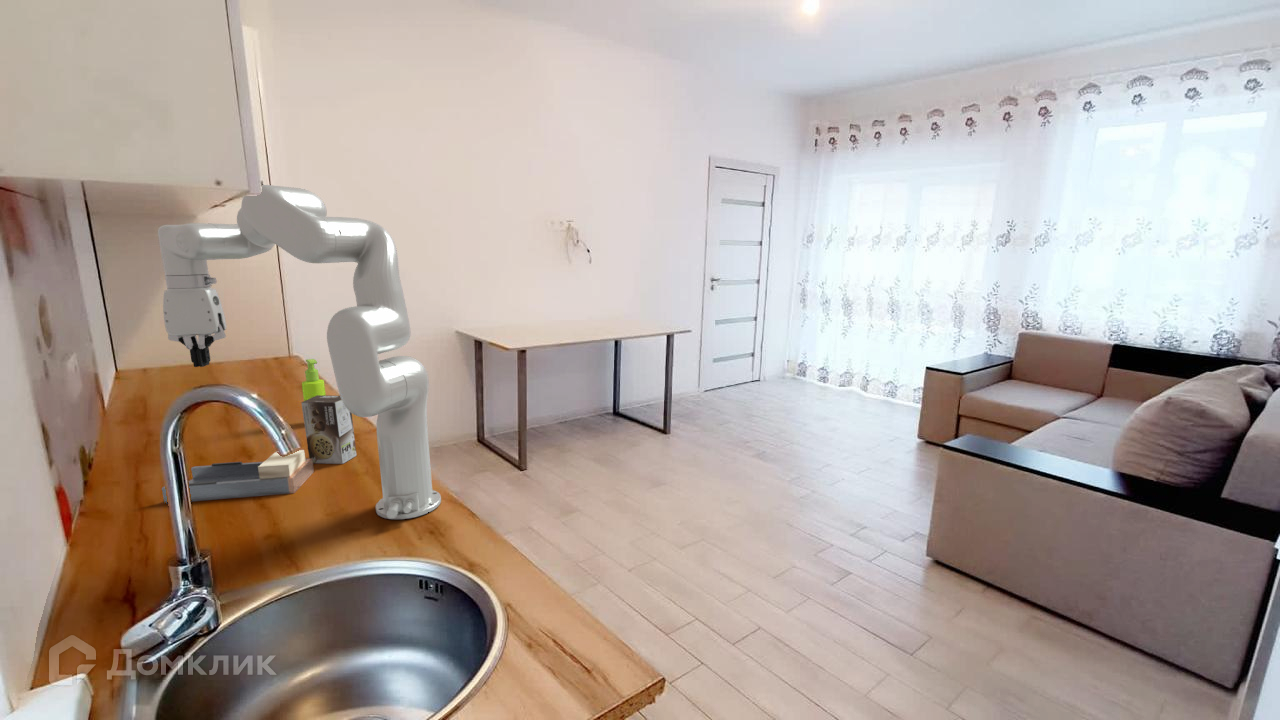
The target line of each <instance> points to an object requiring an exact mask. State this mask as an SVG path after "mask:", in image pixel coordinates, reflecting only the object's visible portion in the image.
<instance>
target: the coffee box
mask: <svg viewBox="0 0 1280 720" xmlns="http://www.w3.org/2000/svg"><path fill="white" fill-rule="evenodd" d="M300 403H301V411H302V416H303V423H304V430H305V431H304V432H305V437H306V444H307V451H308V459H309V458H312V461H313V464H328V465H329V464H331V465H332V464H333V465H343V464H345V463H347V462H349V461H350V460H352V459H354V458H356V457H357V448H356V439H355V430H354V429H355V428H354V423H353V422H354V421H353V414H352V413H351V412H350V411H349V410H348V409H347V408H346V407H345V405H344V404H343V402H342V400H341V397H340V395H329V394H328V395H327V394H326V395H317V396H315V397H312V398H310V399H308V400H306V401H304V400H303V401H301V402H300Z"/></svg>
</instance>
